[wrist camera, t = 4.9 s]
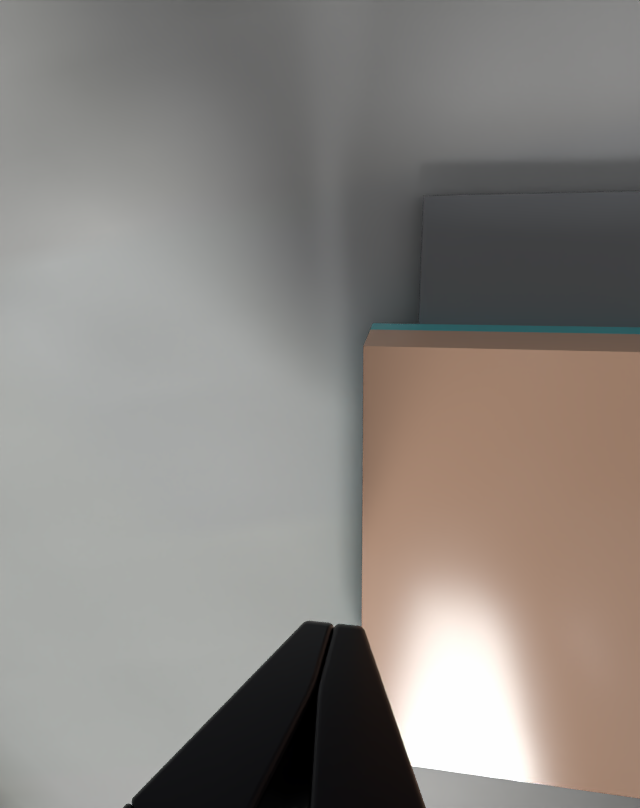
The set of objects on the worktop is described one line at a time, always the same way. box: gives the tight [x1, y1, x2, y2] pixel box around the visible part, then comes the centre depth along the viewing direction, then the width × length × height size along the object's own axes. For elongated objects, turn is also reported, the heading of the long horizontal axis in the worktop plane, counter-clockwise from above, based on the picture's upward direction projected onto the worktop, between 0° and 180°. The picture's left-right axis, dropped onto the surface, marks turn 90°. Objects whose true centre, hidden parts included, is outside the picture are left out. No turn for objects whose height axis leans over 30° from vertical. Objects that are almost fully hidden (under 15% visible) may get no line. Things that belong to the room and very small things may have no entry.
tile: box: [362, 323, 640, 798], centre depth 10 cm, size 2×8×7 cm
